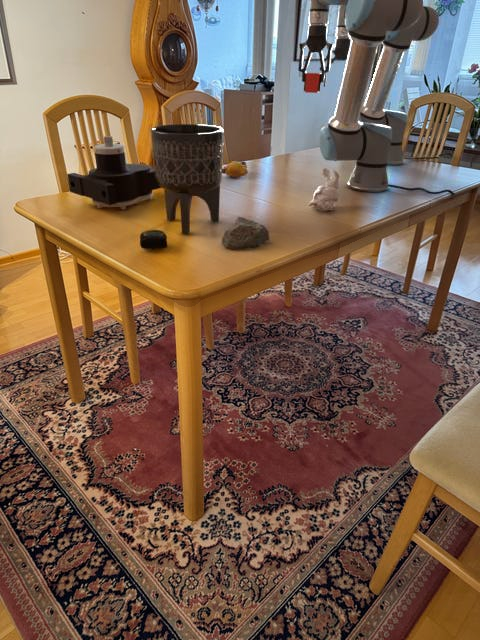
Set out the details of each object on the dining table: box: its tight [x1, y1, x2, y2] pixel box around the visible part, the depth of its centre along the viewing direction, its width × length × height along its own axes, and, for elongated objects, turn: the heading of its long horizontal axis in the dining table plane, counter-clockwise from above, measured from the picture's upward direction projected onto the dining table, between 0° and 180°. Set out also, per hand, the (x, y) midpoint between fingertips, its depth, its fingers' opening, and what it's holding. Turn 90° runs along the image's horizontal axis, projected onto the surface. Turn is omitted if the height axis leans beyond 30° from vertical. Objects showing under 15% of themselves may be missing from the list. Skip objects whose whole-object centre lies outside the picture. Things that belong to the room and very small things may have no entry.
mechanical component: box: [67, 135, 162, 210], centre depth 149 cm, size 22×21×30 cm
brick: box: [304, 72, 322, 94], centre depth 189 cm, size 6×5×7 cm
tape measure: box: [139, 229, 168, 250], centre depth 117 cm, size 7×7×4 cm
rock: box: [221, 216, 270, 250], centre depth 119 cm, size 13×9×6 cm, turn 131°
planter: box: [149, 123, 225, 235], centre depth 128 cm, size 20×20×26 cm
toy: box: [222, 160, 249, 178], centre depth 190 cm, size 11×6×15 cm
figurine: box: [308, 167, 340, 211], centre depth 148 cm, size 8×15×13 cm, turn 145°
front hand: (312, 91), depth 190 cm, fingers closed on brick, 5 cm apart
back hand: (338, 87), depth 231 cm, fingers open, 13 cm apart
